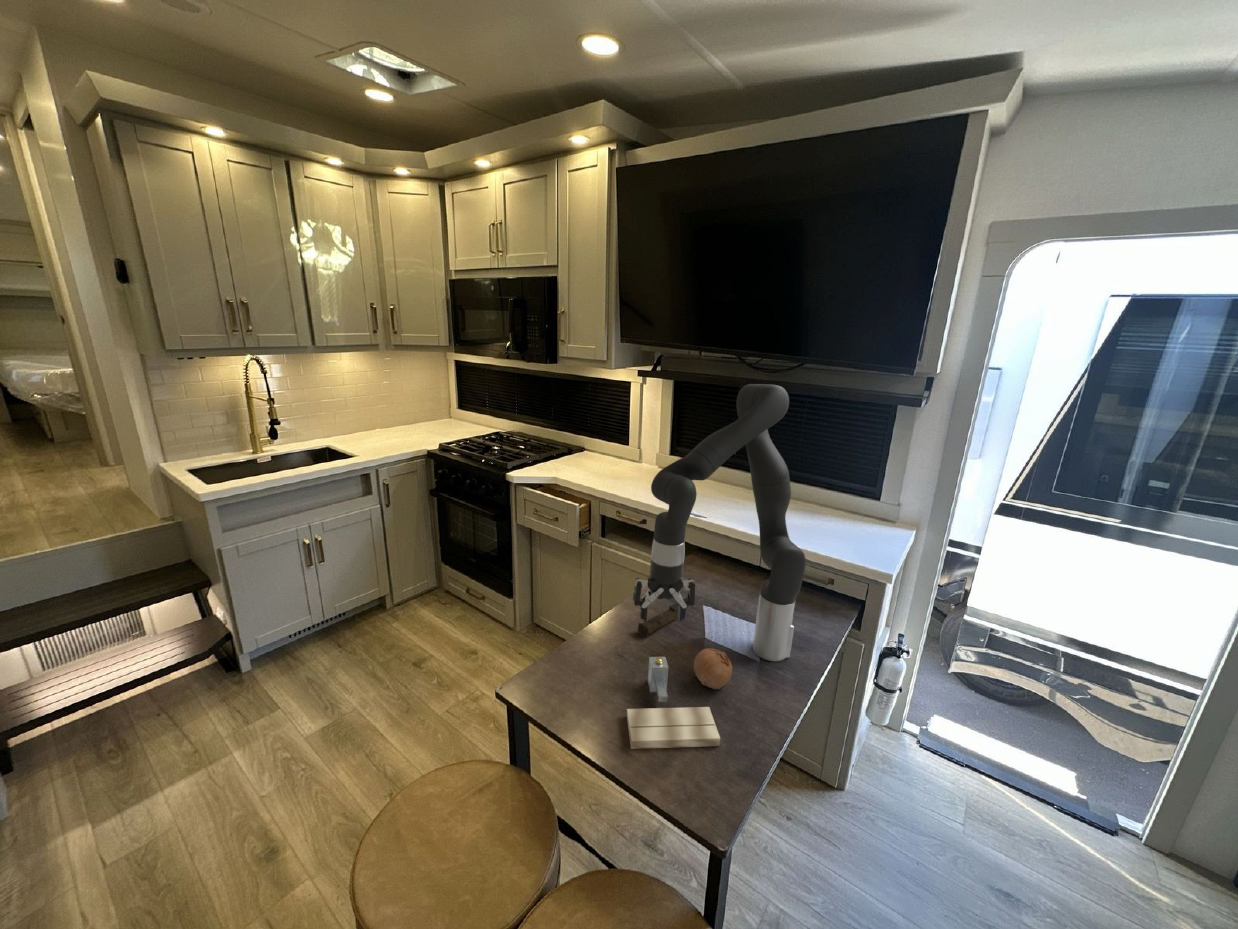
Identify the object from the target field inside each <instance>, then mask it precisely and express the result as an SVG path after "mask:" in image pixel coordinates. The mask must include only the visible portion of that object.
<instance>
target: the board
mask: <svg viewBox="0 0 1238 929" xmlns="http://www.w3.org/2000/svg"><path fill="white" fill-rule="evenodd" d="M626 720H627V721H626V722H627V729H628V736H629V737H628V738H629V743H630V750H631V749H632V750H637V749H640V750H641V749H643V750H644V749H665V748H666V749H667V748H668V749H670V748H672V749H673V748H699V747H701V748H702V747H720V745H721V736H720V733H719V731H718V728H717V724H716V723H715V720H714V717H713V713H712V710H711V708H710V706H697V707H696V706H695V707H694V706H693V707H687V706H686V707H656V708H653V707H652V708H650V707H649V708H626Z"/></svg>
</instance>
